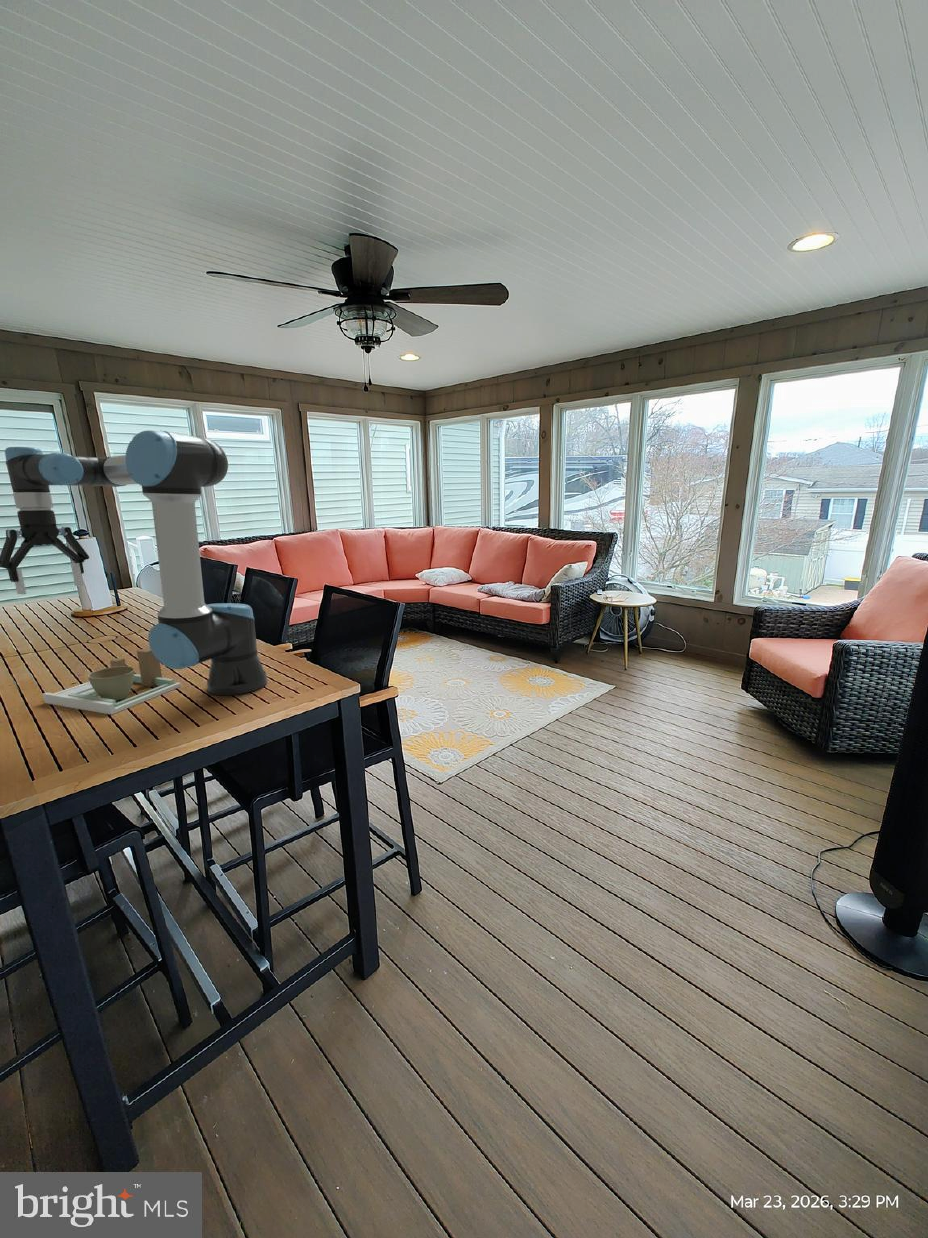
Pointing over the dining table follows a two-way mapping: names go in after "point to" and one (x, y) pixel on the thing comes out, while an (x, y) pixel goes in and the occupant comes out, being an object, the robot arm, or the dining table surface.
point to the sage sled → (139, 678)
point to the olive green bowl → (112, 682)
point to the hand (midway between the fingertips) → (51, 589)
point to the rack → (98, 705)
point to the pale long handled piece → (88, 687)
